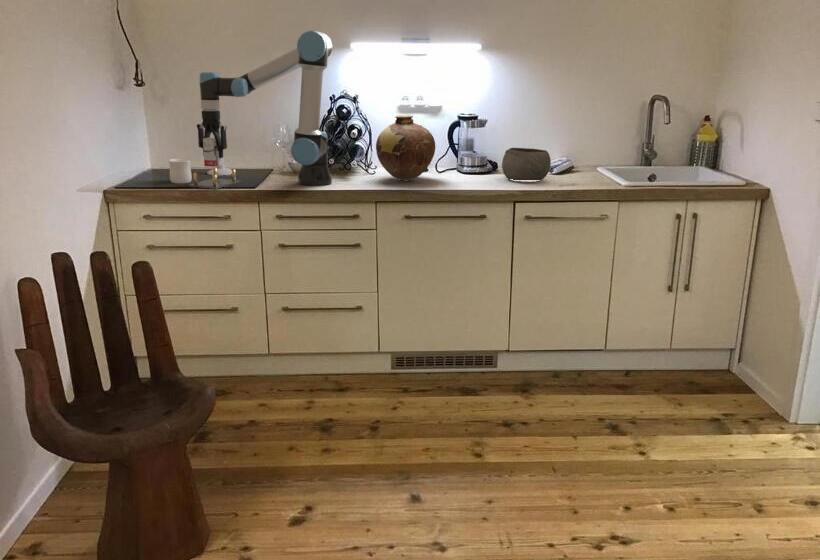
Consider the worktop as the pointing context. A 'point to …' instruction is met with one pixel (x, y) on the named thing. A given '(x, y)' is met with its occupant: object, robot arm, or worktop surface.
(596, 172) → the worktop surface
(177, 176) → the cup
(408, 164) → the vase
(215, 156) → the ink box
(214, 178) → the chassis
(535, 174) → the bowl
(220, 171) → the candlestick
